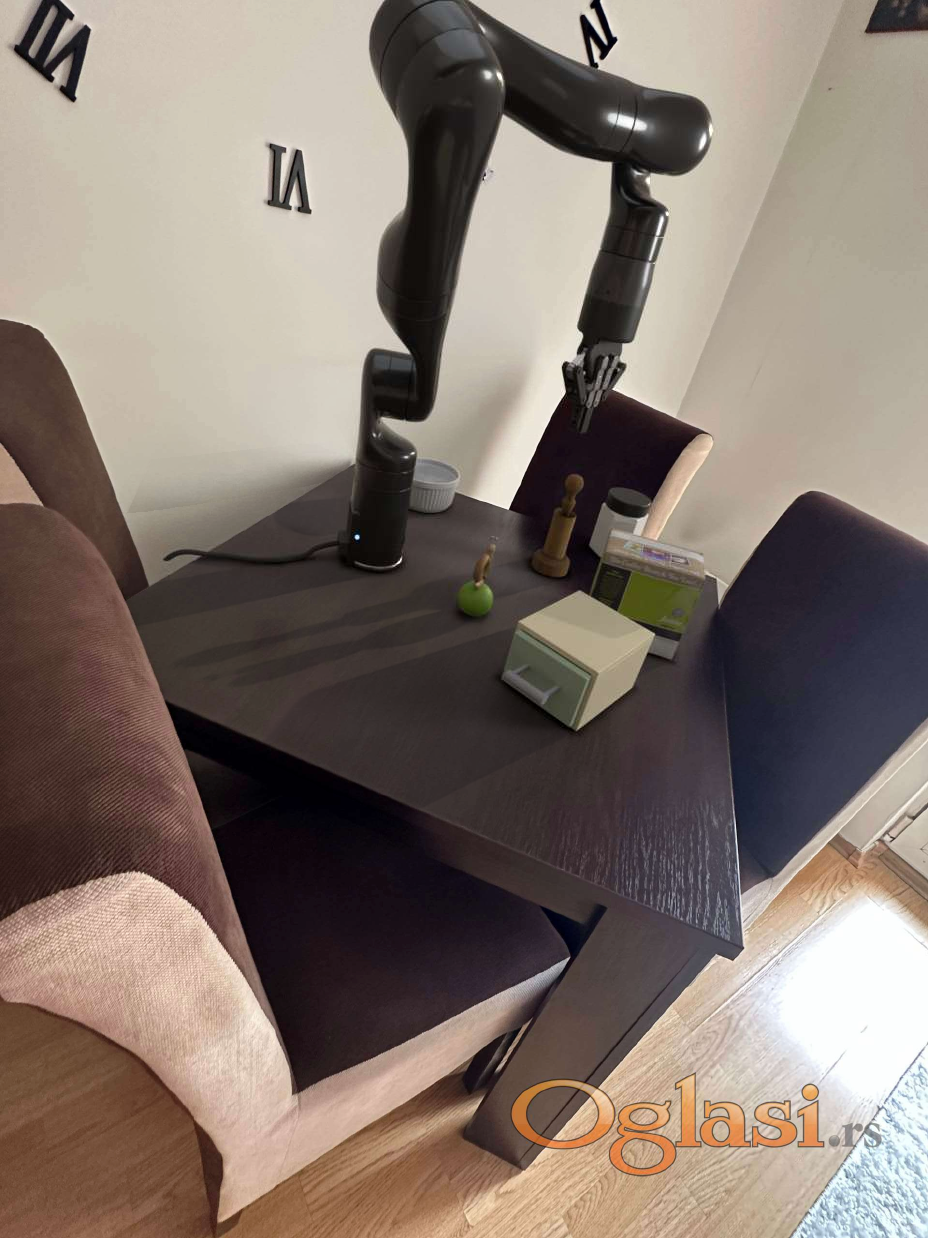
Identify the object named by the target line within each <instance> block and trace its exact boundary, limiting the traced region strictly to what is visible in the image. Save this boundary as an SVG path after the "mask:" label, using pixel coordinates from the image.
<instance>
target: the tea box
mask: <svg viewBox="0 0 928 1238" xmlns="http://www.w3.org/2000/svg"><path fill="white" fill-rule="evenodd" d="M704 555H705V554H704V553H702V552H700V551H697V550H693V549H689V548H685V547H682V546H678V545H674V544H672V543H668V542H663V541H660V540H656V539H653V538H650V537H647V536H643V535H641V536H639V535H636V534H632V533H628V532H625V531H621V530H617V529H614V528H611V530H610V532H609V535H608V538H607V542H606V545H605V548H604V551H603V554H602V557H600V561H599V563H598V567H597V569H596V572H595V575H594V577H593V581H592V584H591V587H590V590H589V593H588V595H589V596H590V597H592V598H594V599H596V600H597V601H599V602H601V603H603V604H604V605H606V606H608V607H609V608H611V609H613V610H615V611H616V612H618V613H620V614H622V615H623V616H625V617H627V618H628V619H630V620H632V621H634V622H635V623H637V624H639V625H641V626H642V627H644V628H646V629H648V630H649V631H651V632H653V633H654V634H655V636H654V638H653V641H652V643H651V645H650V648H649V650H648V652H647V653H649V654H652V655H655V656H657V657H658V656H659V657H661V658H665V659H668V660H673V658H674V656H675V654H676V651H677V648H678V646H679V644H680V642H681V639H682V637H683V635H684V632H685V631H686V628H687V626H688V624H689V622H690V619H691V616H692V615H693V612H694V609H695V607H696V605H697V603H698V601H699V598H700V596H701V593H702V591H703V589H704V586H705V583H706V580H707V579H706V571H705V560H704V559H705V558H704Z"/></svg>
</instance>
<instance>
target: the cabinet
mask: <svg viewBox="0 0 928 1238" xmlns="http://www.w3.org/2000/svg"><path fill="white" fill-rule="evenodd" d="M518 630H522V631H523V632H525V633H526V634H528V635H529V634H530V635H531V636H533V637H535V638H536V639H538V640H539V641H541V642H542V643H544V644H545V645H547V646H548V647H550V648H551V649H553V650H555V651H556V652H558V653H559V654H561V655H562V656H564V657H565V658H567V659H568V660H570V661H572V662H573V663H575V664H576V665H578V666H579V667H581V668H582V669H584V670H585V671H587V672H588V673H590V674H592V675H591V676H592V678H591V681H590V684H589V686H588V689H587V692H586V694H585V697H584V699H583V702H582V705H581V707H580V710H579V712H578V715H577V718H576V720H575V723H574V724H573V725H571V726H570V727H569V728H571V729H573V730H574V731H575V732H577V731H578V730H580V729H581V728H582V727H584V726H585V725H586V724H588V723H589V722H590V721H591V720H593V719H594V718H595V717H597V716H598V715H599V714H600V713H601V712H603V711H604V710H605V709H607V708H609V706H611V705H612V704H613V703H614V702H616V701H618V700H619V699H620V698H621V697H622V696H624V695H625V694H626V693H627V692H629V691H630V690H631V689H633V688H634V685H635V683H636V681H637V678H638V675H639V673H640V671H641V668H642V666H643V664H644V661H645V659H646V657H647V654H648V653H649V652H648V650H649V648H650V645H651V643H652V641H653V638H654V636H655V634H654V633H653V632H651V631H649V630H648V629H646V628H644V627H642V626H641V625H639V624H637V623H635V622H634V621H632V620H630V619H628V618H627V617H625V616H623V615H622V614H620V613H618V612H616V611H615V610H613V609H611V608H609V607H608V606H606V605H604V604H603V603H601V602H599V601H597V600H596V599H594V598H592V597H590V596H589V594H587V593H585V592H583V591H582V590H577V591H575V592H573V593H572V594H569V595H568V596H566V597H563V598H562V599H559V600H558V601H556V602H554V603H552V604H549V605H548V606H546V607H544V608H542V609H540V610H538V611H535V612H534V613H532V614H530V615H528V616H525V617H524V618H523V619H520V620H518V621H517V625H516V628H515V632H516V631H518Z"/></svg>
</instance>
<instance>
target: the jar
mask: <svg viewBox="0 0 928 1238" xmlns="http://www.w3.org/2000/svg"><path fill="white" fill-rule="evenodd" d="M651 505H652V500H651V499H650V498H649V497H648V496H647V495H646V494H643V493H642V492H639V491H637V490H634V489H630V488H626V487H612V488H610V489H609V491H608V494H607V495H606V499H605V502H603V503H602V504H601V508H600V511H599V513H598V517H597V520H596V523H595V526H594V529H593V532H592V535H591V538H590V541H589V544H588V547H589V548H590V549H591V550H592V551H593V552H594V553H595V554H596V555H597V556H598V557H599V558H601V557H602V554H603V551H604V548H605V545H606V542H607V538H608V535H609V532H610V530H611V528H614V529H617V530H621V531H625V532H628V533H632V534H636V535H639V536H642V534H643V531H644V528H645V526H646V523H647V521H648V518H649V513H648V512H649V509H650V507H651Z"/></svg>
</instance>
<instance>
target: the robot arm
mask: <svg viewBox="0 0 928 1238" xmlns="http://www.w3.org/2000/svg"><path fill="white" fill-rule="evenodd" d="M369 30H370V31H369V37H368V55H369V62H370V65H371V69H372V71H373V75H374V77H375V80H376V83H377V85H378V87H379V89H380V91H381V93H382V95H383V97H384V99H385V101H386V103H387V105H388V106H389V108H390V111H391V112H392V114H393V116H394V118H395V119H396V121H397V124H398V125H399V127H400V129H401V131H402V133H403V137H404V140H405V144H406V148H407V150H406V151H407V165H408V166H407V169H408V170H407V189H406V190H407V192H406V198H405V205H404V208H403V209H402V210H401V211H400V212H398V213H397V214H396V215H395V216H394V217H393V218H392V219H391V221H390V222H389V223H388V224H387V226H386V227H385V229H384V231H383V233H382V234H381V238H380V240H379V244H378V249H377V258H376V259H377V260H376V276H375V277H376V279H375V295H376V300H377V304H378V307H379V309H380V311H381V314H382V315H383V317H384V319H385V321H386V322H387V324H388V325H389V327H390V328H391V330H392V331H393V333H394V334H395V335H396V336H397V338H398V340H399V341H400V342H401V343H402V344H403V345H404V347H405V348H406V349H407V351H408V352H403V351H397V350H392V349H387V348H382V347H373V348H371V349H369V350H368V352H367V353H366V356H365V358H364V361H363V363H362V364H363V365H362V370H361V380H360V381H361V383H360V399H359V400H360V404H359V421H358V431H357V432H358V433H357V443H356V449H355V460H354V469H353V480H352V491H351V496H350V497H349V502H348V512H347V522H346V530H338V532H337V540H332V541H327V542H324V543H319V544H317V545H315V546H314V545H313V546H312V547H311V548H310V549H308V550H307V551H305V552H302V553H299V554H296V555H295V554H294V555H291V556H281V557H259V556H258V557H257V556H248V555H247V556H245V555H240V554H234V553H224V552H214V551H206V550H205V551H204V550H198V549H191V548H183V549H177V550H175V551H172V552H170V553H168V554H167V555H166V556H164V557H163V559H162V561H163V562H170V561H172V560H173V559H174V558H177V557H180V556H185V555H190V556H199V557H205V558H214V559H215V558H216V559H227V560H232V561H239V562H246V563H257V564H259V563H260V564H264V563H266V564H268V563H269V564H273V563H274V564H276V563H277V564H278V563H279V564H281V563H289V562H290V563H291V562H295V561H299V560H303V559H307V558H309V557H310V556H312V555H313V554H314V553H317V552H318V551H321V550H324V549H327V548H332V547H336V546H337V551H338V556H345V560H346V565H347V566H352V567H356V568H358V569H361V570H364V571H368V572H375V573H376V572H377V573H380V572H381V573H382V572H389V571H393V570H395V569H397V568H398V567H400V566H401V564H402V560H403V553H404V546H405V543H406V532H407V525H408V518H409V510H410V509H409V505H410V498H411V492H412V485H413V479H414V472H415V466H416V460H417V457H418V449H417V447H416V445H415V444H414V443H413V442H412V441H411V440H410V439H407V438H406V437H404V436H403V435H401V434H399V433H397V432H396V431H395V430H393V429H392V428H390V426H388V425H387V424H386V423H385V421H384V420H383V418H385V419H391V420H395V421H402V422H406V423H407V422H408V423H422V422H425V421H427V420H428V418H429V417H430V416H431V414H432V412H433V410H434V408H435V404H436V400H437V395H438V389H439V382H440V374H441V365H442V357H443V349H444V343H445V338H446V334H447V330H448V326H449V322H450V318H451V314H452V310H453V306H454V302H455V299H456V294H457V289H458V284H459V280H460V275H461V267H462V260H463V255H464V252H465V251H464V250H465V247H466V242H467V239H468V234H469V230H470V226H471V221H472V217H473V216H472V215H473V212H474V208H475V205H476V200H477V198H478V194H479V192H480V188H481V185H482V182H483V179H484V176H485V173H486V170H487V168H488V164H489V161H490V158H491V156H492V152H493V148H494V146H495V143H496V140H497V136H498V133H499V129H500V126H501V123H502V119H503V116H504V117H506V118H508V119H509V120H511V121H512V122H514V123H515V124H516V125H518V126H520V127H522V128H523V129H524V130H526V131H527V132H529V133H530V134H532V135H534V137H536V138H538V139H540V140H541V141H542V142H544V143H546V144H547V145H548V146H551V147H552V148H554V149H556V150H558V151H560V152H563V153H565V154H567V155H571V156H574V157H577V158H581V159H586V160H591V161H596V162H600V163H607V164H608V163H609V164H610V163H611V168H610V169H611V172H610V188H609V210H608V211H609V212H608V215H607V216H608V217H607V219H606V223H605V227H604V229H603V234H602V238H601V241H600V245H599V250H598V252H597V255H596V258H595V260H594V263H593V265H592V268H591V271H590V275H589V279H588V282H587V286H586V290H585V294H584V298H583V301H582V305H581V309H580V313H579V316H578V320H577V324H576V328H577V330H578V332H580V333H581V334H582V339H581V340H580V342H579V345H578V347H577V348H576V357H574V358H573V359H572V361H568V360H565V361H563V363H562V365H561V373H562V374H561V375H562V379H563V385H564V389H565V390H564V391H565V395H566V398H567V399H568V400H571V401H572V402H573V408H572V412H571V415H570V419H569V421H568V430H569V431H570V432H572V433H574V434H578V435H580V434H586V432H588V428H589V425H590V421H591V418H592V415H593V412H594V408H596V407H597V406H598V405H599V404H600V401H601V402H605V401H606V399H607V398H608V397H609V395H610V394H611V392H612V391H613V389H614V388H615V386H616V385H617V383H618V382H619V380H620V379H621V377H622V376H623V375H624V373H625V371H626V370H627V365H628V364H627V363H626V362H623V361H622V360H621V356H622V353H623V345H624V344H625V345H626V344H630V343H632V342H634V340H635V338H636V336H637V335H636V334H637V331H638V328H639V326H640V322H641V319H642V316H643V313H644V309H645V306H646V303H647V300H648V296H649V293H650V289H651V287H652V283H653V278H654V273H655V267H656V262H657V261H658V257H659V254H660V251H661V248H662V244H663V241H664V238H665V234H666V232H667V228H668V224H669V220H670V210H669V208H667V206H666V205H665V204H663V203H662V202H660V201H659V200H657V199H655V198H654V197H653V196H652V193H651V175H652V174H653V175H659V176H660V175H661V176H666V177H672V178H673V177H682V176H684V175H686V174H688V173H690V172H692V171H693V170H694V169H695V168H697V167H698V166H699V165H700V164H701V163H702V161H703V160H704V158H705V157H706V155H707V153H708V151H709V149H710V146H711V143H712V140H713V132H714V125H713V119H712V118H713V117H712V116H711V115H712V114H711V113H710V110H709V108H708V106H707V105H706V104H705V103H704V102H703V100H701V99H699V98H698V97H696V96H694V95H690V94H686V93H681V92H677V91H672V90H671V91H670V90H665V89H660V88H652V87H647V86H644V85H641V84H638V83H636V82H633V81H631V80H629V79H628V78H625V77H623V76H619V75H617V74H614V73H611V72H608V71H605V70H602V69H598V68H596V67H594V66H590V65H588V64H585V63H582V62H580V61H577V60H575V59H572V58H569V57H567V56H565V55H563V54H561V53H559V52H557V51H554V50H552V49H550V48H549V47H547V46H544V45H542V44H540V43H538V42H536V41H535V40H533V39H531V38H529V37H527V36H526V35H524V34H522V33H521V32H519V31H517V30H515V29H513V28H512V27H510V26H508V25H506V24H505V23H504V22H502V21H500V20H498V19H497V18H495V17H493V16H492V15H491V14H489V13H488V12H487V11H486V10H483V9H482V8H481V7H479V6H478V5H477V4H475V3H474V2H472V1H471V0H383V1H382V3H381V4H380V6H379V8H378V9H377V11H376V13H375V15H374V18H373V20H372V22H371V26H370V29H369Z"/></svg>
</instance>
